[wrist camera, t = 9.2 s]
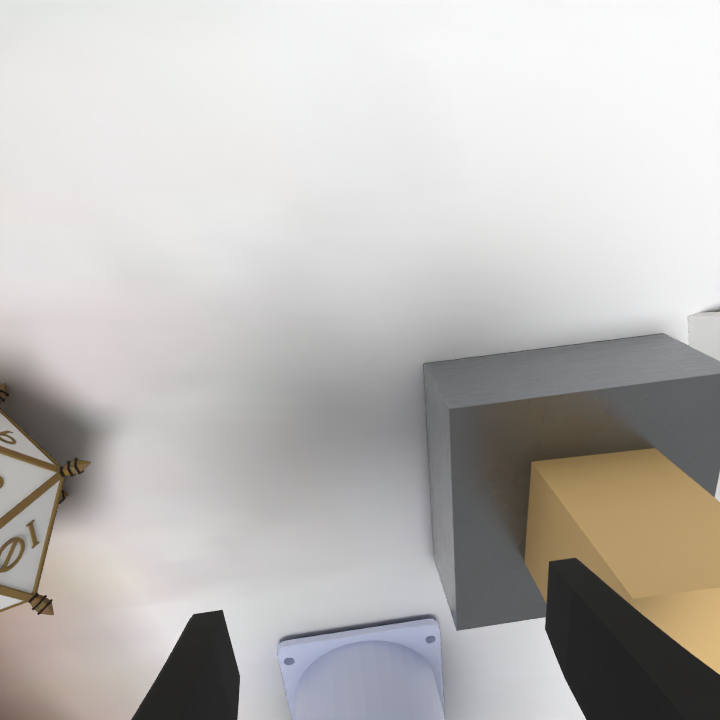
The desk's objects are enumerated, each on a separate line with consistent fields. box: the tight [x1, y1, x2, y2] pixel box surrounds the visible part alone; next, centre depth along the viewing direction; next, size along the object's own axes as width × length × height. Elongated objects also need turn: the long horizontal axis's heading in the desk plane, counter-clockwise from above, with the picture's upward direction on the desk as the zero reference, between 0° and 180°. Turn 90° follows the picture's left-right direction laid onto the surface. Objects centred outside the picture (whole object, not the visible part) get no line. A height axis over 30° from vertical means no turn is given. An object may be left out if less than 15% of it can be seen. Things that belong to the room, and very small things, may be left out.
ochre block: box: [525, 448, 720, 674], centre depth 16 cm, size 4×4×6 cm
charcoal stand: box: [424, 334, 720, 631], centre depth 21 cm, size 10×10×4 cm
